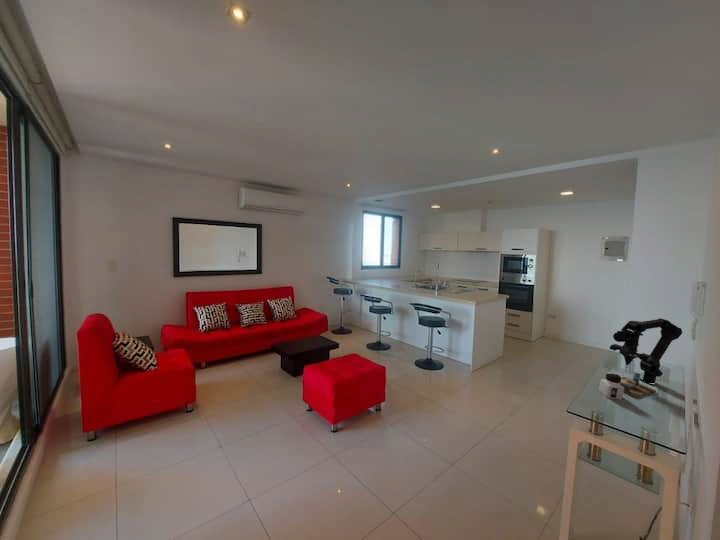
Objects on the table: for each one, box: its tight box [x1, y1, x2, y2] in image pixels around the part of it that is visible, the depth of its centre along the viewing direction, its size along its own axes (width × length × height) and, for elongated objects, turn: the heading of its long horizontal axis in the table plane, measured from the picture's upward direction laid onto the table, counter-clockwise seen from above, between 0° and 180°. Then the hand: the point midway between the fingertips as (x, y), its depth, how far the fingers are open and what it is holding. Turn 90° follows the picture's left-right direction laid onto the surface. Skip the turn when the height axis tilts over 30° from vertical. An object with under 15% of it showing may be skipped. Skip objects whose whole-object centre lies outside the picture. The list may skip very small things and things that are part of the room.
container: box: [598, 372, 624, 401], centre depth 168 cm, size 8×8×13 cm
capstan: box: [621, 372, 641, 390], centre depth 178 cm, size 14×11×6 cm
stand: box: [620, 376, 657, 399], centre depth 177 cm, size 20×16×6 cm
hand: (627, 364), depth 182 cm, fingers closed
